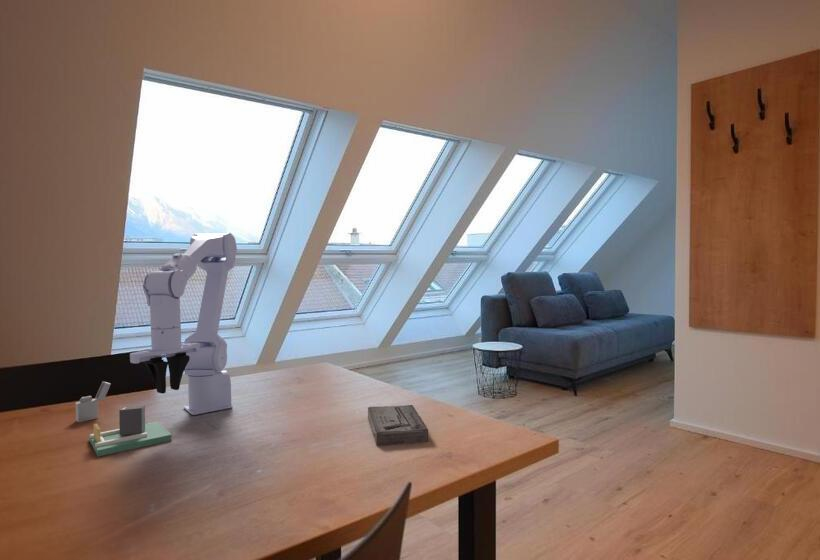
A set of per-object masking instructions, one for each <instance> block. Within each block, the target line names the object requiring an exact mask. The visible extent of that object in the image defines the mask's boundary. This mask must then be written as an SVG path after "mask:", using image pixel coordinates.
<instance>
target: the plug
mask: <svg viewBox="0 0 820 560" xmlns="http://www.w3.org/2000/svg"><path fill="white" fill-rule="evenodd" d="M145 411H146V405H137V406H129V407H127V406H126V407H122V408H121V409H119V412H118V413H119V415H118V416H119V429H120V436H122V435H131V434H140V433H143V432H144V431H145V424H146V412H145Z"/></svg>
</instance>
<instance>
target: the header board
mask: <svg viewBox="0 0 820 560" xmlns="http://www.w3.org/2000/svg"><path fill="white" fill-rule="evenodd" d="M88 439H89V440H88V441H89V442H90V444H91V446H92V448H93V450H94V452H95V454H96V456H97V457H102V456H106V455H111V454H116V453H120V452H124V451H129V450H133V449H139V448H143V447H148V446H152V445H155V444H156V445H157V444H161V443H165V442H170V441H172V439H173V438H172V434H171V433H170V431H169V430H167V428H165V427H164V426H163V424H162V423H161V422H160V421H158V420H157V421H153V422H148V423H146V422H145V431H144V432H143V433H140V434H131V435H122V436H120V428H115V429H112V430H106V431H101V427H99V425H98V423H94V424H93V433H89V436H88Z"/></svg>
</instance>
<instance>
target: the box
mask: <svg viewBox="0 0 820 560" xmlns="http://www.w3.org/2000/svg"><path fill="white" fill-rule="evenodd" d="M367 421H368V423H369V427H370V431H371V434H372V436H373V439H374V443H375V446H376V447H381V446H390V445H400V444H402V445H403V444H404V445H406V444H415V443H416V444H417V443H428V442H429V441H428V440H429V429H428V427H427V425H426V424H425V423H424V421H423V419H422V417H421V416H420V415H419V413H418V411H417V409H416V408H415V407H414V405H413V404H408V405H391V406H386V405H384V406H369V407H367Z"/></svg>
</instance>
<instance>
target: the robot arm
mask: <svg viewBox="0 0 820 560" xmlns="http://www.w3.org/2000/svg"><path fill="white" fill-rule="evenodd" d="M237 250H238V248H237V241H236V238H235V236H234V234H233V233H231V232H226V233H197V232H196V233H194V234H192V236H191V237H190V239H189V246H188V248H187V249H186V250H185V251H184V253H181V252H180V253H179V252H178V253H177V252H176V253H174V254H173V255H172V257H171V258H170V259H169V260H168V261H167V262H166V263H164V264H163V265H162V267H160V268H159V269H158V270H152V271H150V272H149V273H147V274H146V275H145V277H144V280H143V284H142V289H143V293H144V295H145V297H146V304H147V307H149V314H150V315H149V316H150V317H149V318H150V339H151V340H150V341H151V348H147V349H142V350H139V351H135V352H131V353H129V361H130V362H129V363H131V364H140V363H143V364H144V366H145V367H146V368H147V370H148V372H149V374H150V375H151V377H152V379H153V383H154V385H155V388H156V389H155V390H156V392H157V393H158V394H163V395H164V394H166V391H167V380H166V379H167V378H166V377H167V371H169V373H168V374H169V386H170V390H174V391H179V390H180V385H181V381H182V377H183V374H184V375H187V387H188V388H187V389H188V391H187V393H188V395H187V396H188V405H187V404H186V405H183V409H184V410H186V411H187V412H188V413H189V414H190V415H192V416H196V415H201V414H206V413H211V412H212V413H213V412H217V411H222V410H227V409H232V408H233V404H232V383H231V381H232V380H231V376H230V373H229V371H227V370H226V369H225V367H226V365H227V361H228V353H227V352H228V351H227V350H228V343H227V342H226V340H225V339H224V338H223V337H221V336H220V335H219V328H220V321H221V316H222V315H221V314H222V310H223V304H224V298H225V294H226V293H225V291H226V288H227V287H226V286H227V280H228V276H229V275H228V274H229V271H231V270H232V269H233V268H234V266H235V261H236V255H237ZM197 265H198V266H197ZM197 267H199V269H201V270H203V271H204V272H205V273H206V276H205V277H206V278H205V282H204V287H203V293H202V298H201V302H200V310H199V314H198V320H197V323H196V330H195V332H194V333H192V334H191V335H189V336H188V337H186V338H185V339H184V343H182V326H181V325H182V324H181V323H182V322H181V320H182V319H181V301H180V299H181V297H182V296H183V295H184V294H185V291H186V286H187V284H188V281H189V280H190V278H191V277H193V275H194V274H195V273H196V271H197ZM164 358H165V359H166V361H164Z"/></svg>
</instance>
